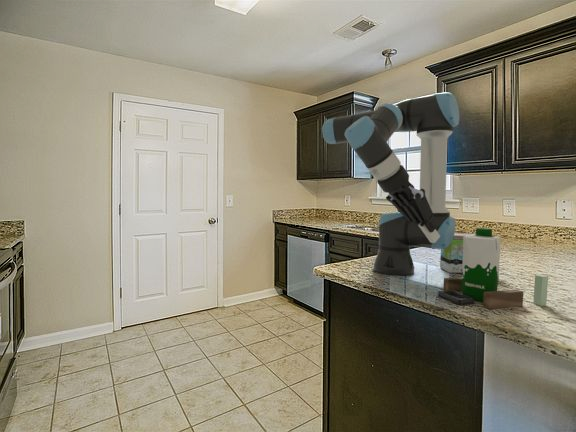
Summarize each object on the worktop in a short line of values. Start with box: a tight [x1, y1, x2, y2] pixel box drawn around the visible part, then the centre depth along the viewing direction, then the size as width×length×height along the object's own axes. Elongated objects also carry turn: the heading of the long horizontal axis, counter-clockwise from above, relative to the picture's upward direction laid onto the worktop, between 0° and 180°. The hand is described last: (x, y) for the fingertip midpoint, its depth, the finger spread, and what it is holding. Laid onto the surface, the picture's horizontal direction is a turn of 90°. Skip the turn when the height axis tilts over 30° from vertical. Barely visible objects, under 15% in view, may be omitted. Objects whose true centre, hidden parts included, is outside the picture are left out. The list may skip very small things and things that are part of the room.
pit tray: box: [437, 290, 475, 306], centre depth 93 cm, size 8×5×2 cm, turn 15°
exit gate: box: [532, 274, 549, 307], centre depth 98 cm, size 19×2×8 cm, turn 15°
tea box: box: [439, 232, 476, 274], centre depth 129 cm, size 15×10×15 cm, turn 86°
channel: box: [442, 276, 524, 310], centre depth 95 cm, size 17×11×4 cm, turn 15°
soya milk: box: [461, 227, 501, 303], centre depth 94 cm, size 9×9×20 cm
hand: (435, 239), depth 90 cm, fingers closed
